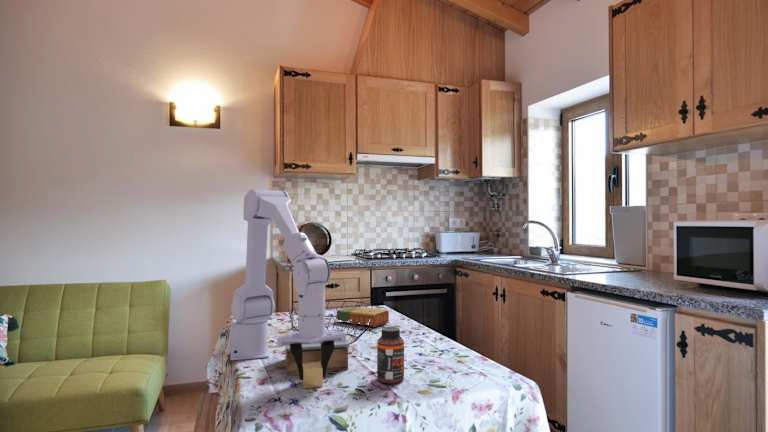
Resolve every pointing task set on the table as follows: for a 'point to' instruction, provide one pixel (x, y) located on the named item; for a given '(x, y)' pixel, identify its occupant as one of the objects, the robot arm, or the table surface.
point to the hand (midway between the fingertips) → (312, 377)
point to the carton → (364, 316)
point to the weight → (312, 375)
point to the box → (318, 359)
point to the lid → (319, 346)
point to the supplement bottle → (390, 356)
